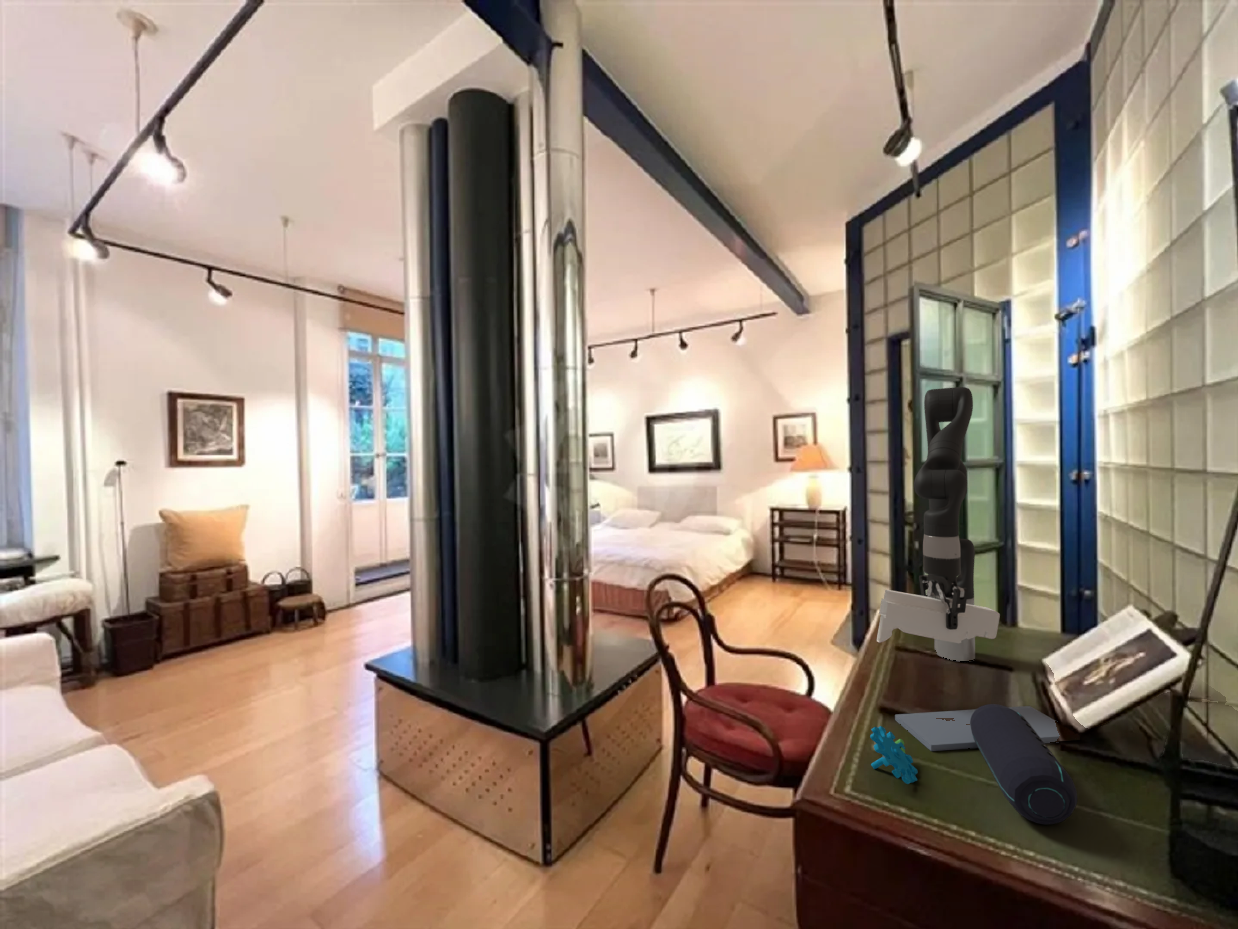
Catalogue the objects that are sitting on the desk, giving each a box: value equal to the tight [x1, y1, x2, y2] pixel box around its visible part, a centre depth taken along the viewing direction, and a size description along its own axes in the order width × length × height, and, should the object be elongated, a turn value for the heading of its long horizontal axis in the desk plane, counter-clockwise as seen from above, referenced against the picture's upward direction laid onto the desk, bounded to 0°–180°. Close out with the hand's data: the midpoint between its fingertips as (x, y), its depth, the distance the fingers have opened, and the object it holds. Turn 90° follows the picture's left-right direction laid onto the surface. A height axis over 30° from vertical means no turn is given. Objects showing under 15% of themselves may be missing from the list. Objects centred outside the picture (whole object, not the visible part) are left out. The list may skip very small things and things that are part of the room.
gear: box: [869, 725, 918, 785], centre depth 97 cm, size 11×6×10 cm
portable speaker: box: [970, 703, 1078, 825], centre depth 92 cm, size 25×10×10 cm, turn 160°
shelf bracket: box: [876, 588, 1001, 643], centre depth 125 cm, size 6×25×13 cm, turn 84°
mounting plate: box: [894, 705, 1060, 752], centre depth 110 cm, size 12×31×1 cm, turn 94°
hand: (942, 624), depth 124 cm, fingers closed on shelf bracket, 5 cm apart
